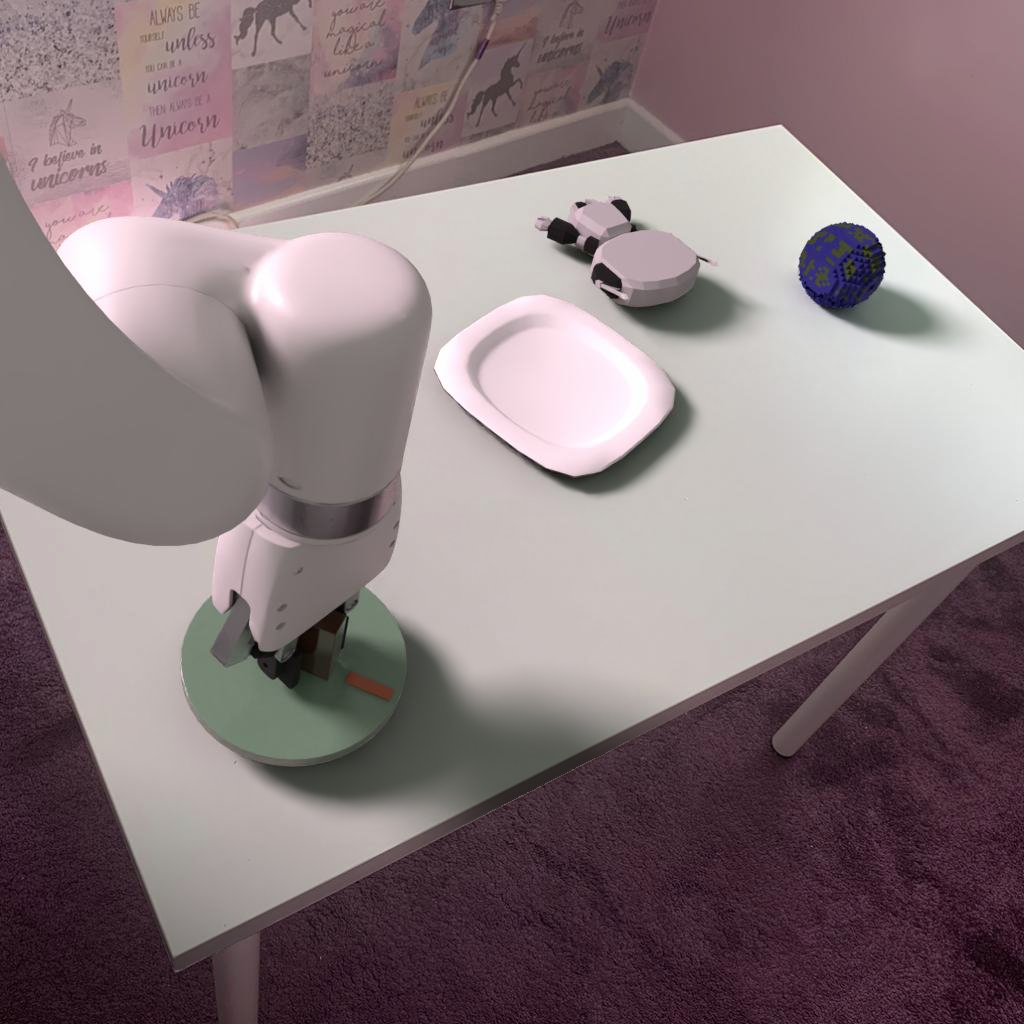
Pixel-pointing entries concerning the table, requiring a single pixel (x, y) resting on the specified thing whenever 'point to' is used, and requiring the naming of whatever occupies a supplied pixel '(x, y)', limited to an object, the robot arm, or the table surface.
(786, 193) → the table surface
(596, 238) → the robot toy
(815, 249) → the ball
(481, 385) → the plate
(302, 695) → the turntable plate
